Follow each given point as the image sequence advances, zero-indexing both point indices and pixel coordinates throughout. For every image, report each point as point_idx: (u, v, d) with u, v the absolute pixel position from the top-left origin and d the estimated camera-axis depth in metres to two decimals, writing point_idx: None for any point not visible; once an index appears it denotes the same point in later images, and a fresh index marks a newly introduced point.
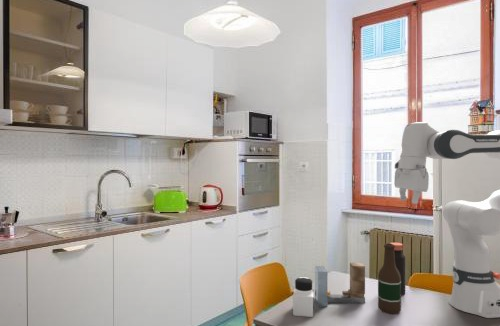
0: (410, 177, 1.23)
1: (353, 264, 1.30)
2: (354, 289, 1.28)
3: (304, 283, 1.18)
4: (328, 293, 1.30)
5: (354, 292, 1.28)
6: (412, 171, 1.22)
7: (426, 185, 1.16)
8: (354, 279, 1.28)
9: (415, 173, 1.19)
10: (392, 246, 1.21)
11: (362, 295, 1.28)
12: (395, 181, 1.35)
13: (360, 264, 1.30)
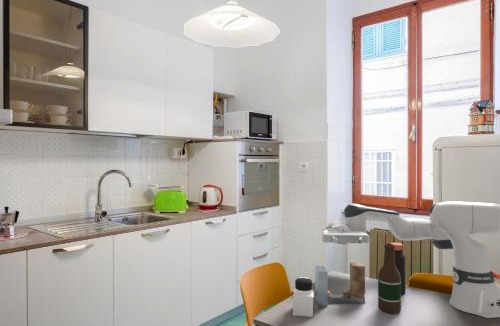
0: (350, 233, 1.52)
1: (353, 264, 1.30)
2: (354, 289, 1.28)
3: (304, 283, 1.18)
4: (328, 293, 1.30)
5: (354, 292, 1.28)
6: (352, 231, 1.54)
7: None
8: (354, 279, 1.28)
9: (358, 231, 1.54)
10: (392, 246, 1.21)
11: (362, 295, 1.28)
12: (325, 233, 1.51)
13: (360, 264, 1.30)
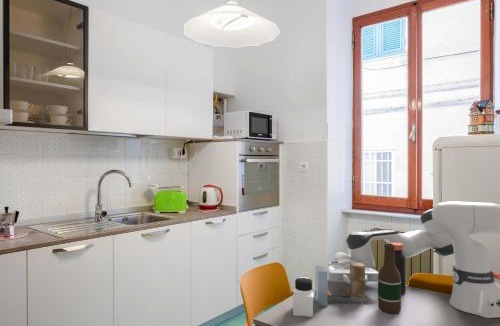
0: None
1: (353, 264, 1.30)
2: (354, 289, 1.28)
3: (304, 283, 1.18)
4: (328, 293, 1.30)
5: (354, 292, 1.28)
6: None
7: None
8: (354, 279, 1.28)
9: (367, 268, 1.40)
10: (392, 246, 1.21)
11: (362, 295, 1.28)
12: (330, 270, 1.37)
13: (360, 264, 1.30)
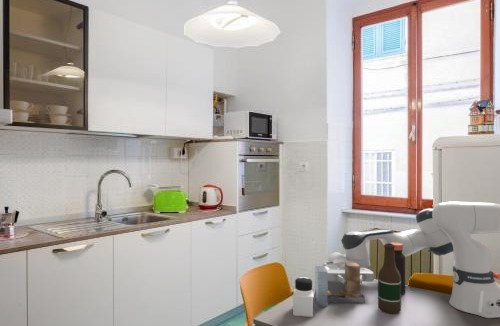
0: None
1: (348, 264, 1.30)
2: (349, 289, 1.28)
3: (304, 283, 1.18)
4: (328, 293, 1.30)
5: (349, 292, 1.28)
6: None
7: None
8: (349, 279, 1.28)
9: (362, 268, 1.40)
10: (392, 246, 1.21)
11: (357, 295, 1.28)
12: None
13: (355, 264, 1.30)
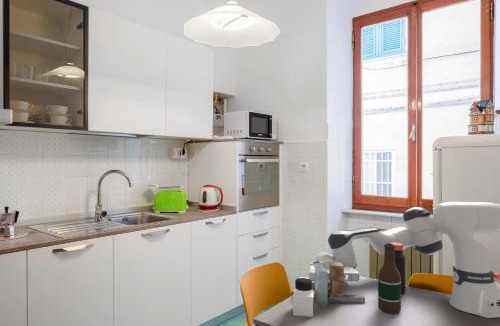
0: None
1: (332, 264, 1.31)
2: (333, 289, 1.29)
3: (304, 283, 1.18)
4: None
5: (333, 292, 1.29)
6: None
7: None
8: (333, 279, 1.29)
9: (348, 268, 1.40)
10: (392, 246, 1.21)
11: (341, 295, 1.28)
12: (311, 270, 1.37)
13: (339, 264, 1.31)
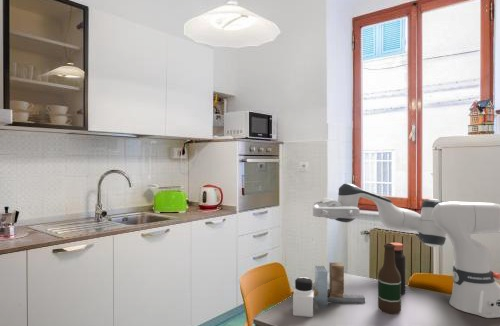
0: (341, 207, 1.52)
1: (332, 264, 1.31)
2: (333, 289, 1.29)
3: (304, 283, 1.18)
4: None
5: (333, 292, 1.29)
6: (343, 206, 1.54)
7: None
8: (333, 279, 1.29)
9: (349, 206, 1.53)
10: (392, 246, 1.21)
11: (341, 295, 1.28)
12: (315, 207, 1.50)
13: (339, 264, 1.31)
